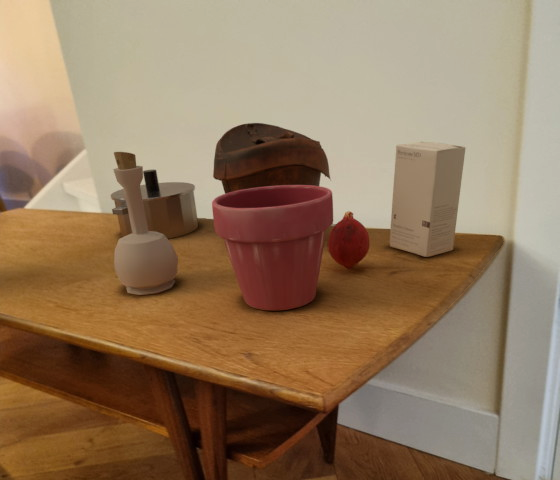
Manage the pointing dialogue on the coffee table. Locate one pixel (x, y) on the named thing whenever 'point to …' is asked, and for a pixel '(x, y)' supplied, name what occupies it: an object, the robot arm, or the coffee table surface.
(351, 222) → the onion
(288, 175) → the chocolate muffin
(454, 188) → the cosmetic box
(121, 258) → the potion bottle
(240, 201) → the flower pot
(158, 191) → the pan lid
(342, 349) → the coffee table surface
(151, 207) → the pan
